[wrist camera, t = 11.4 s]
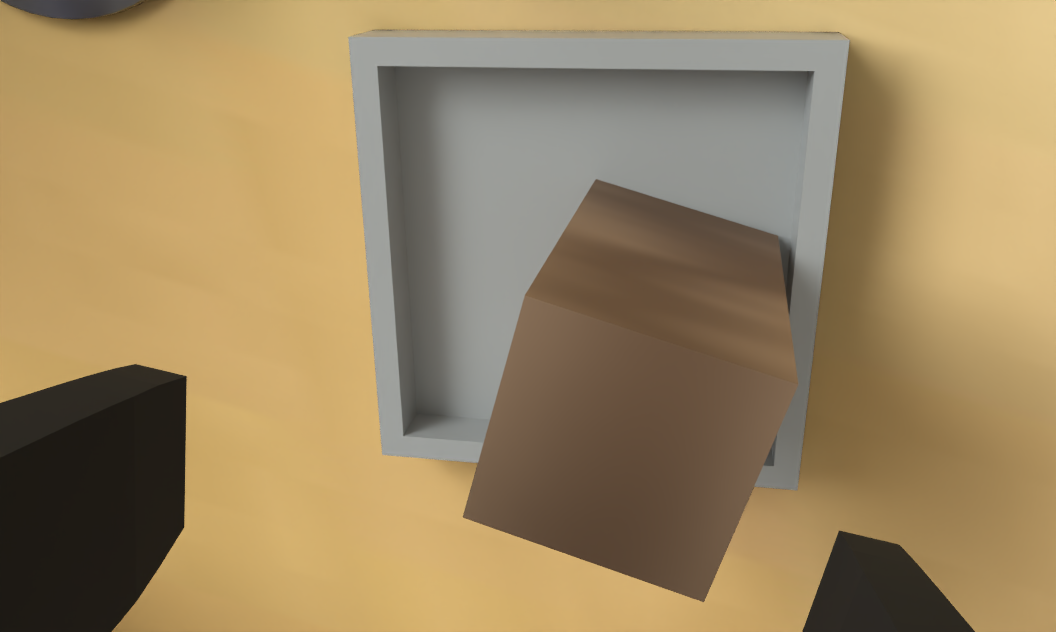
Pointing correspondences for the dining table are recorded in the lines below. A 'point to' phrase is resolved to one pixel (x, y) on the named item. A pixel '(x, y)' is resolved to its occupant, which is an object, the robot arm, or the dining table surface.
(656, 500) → the block
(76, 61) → the dining table surface
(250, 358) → the dining table surface
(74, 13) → the crank hub
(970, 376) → the dining table surface
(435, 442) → the tray
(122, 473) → the robot arm
